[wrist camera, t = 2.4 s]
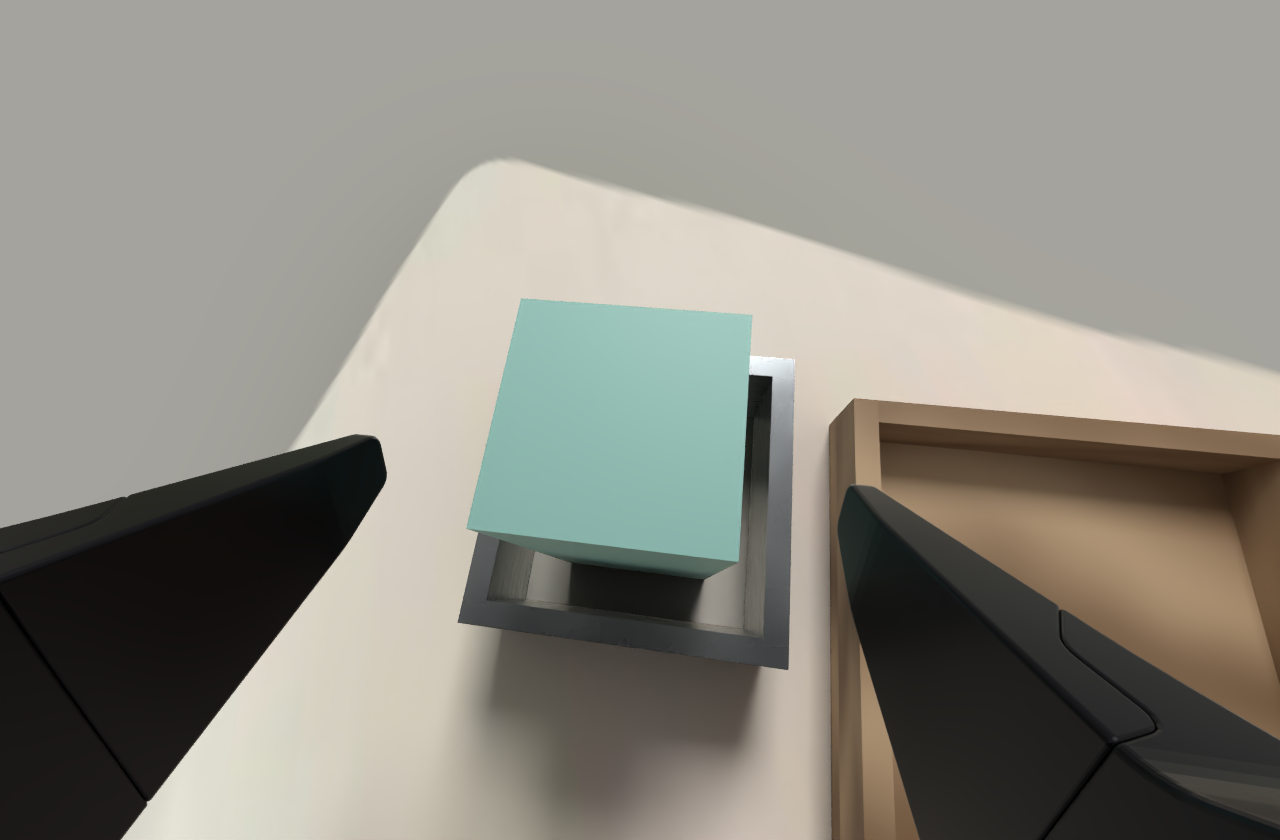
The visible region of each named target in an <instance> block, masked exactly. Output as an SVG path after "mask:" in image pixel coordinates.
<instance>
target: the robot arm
mask: <svg viewBox="0 0 1280 840" xmlns="http://www.w3.org/2000/svg"><path fill="white" fill-rule="evenodd" d="M386 478H387V471H386V466H385V462H384V457H383V453H382V448H381V444H380V441H379V440H378V439H377V438H376V437H374V436H369V435H359V434H355V435H350V436H347V437H343V438H339V439H335V440H332V441H328V442H324V443H321V444H317V445H313V446H309V447H306V448H302V449H298V450H295V451H291V452H287V453H283V454H280V455H276V456H272V457H269V458H265V459H261V460H258V461H254V462H250V463H246V464H243V465H239V466H236V467H232V468H228V469H224V470H221V471H217V472H213V473H209V474H206V475H202V476H198V477H194V478H191V479H187V480H183V481H180V482H176V483H172V484H168V485H165V486H161V487H158V488H154V489H150V490H147V491H143V492H139V493H135V494H132V495H130V496H128V497H127V498H126V497H120V498H116V499H112V500H109V501H105V502H101V503H98V504H94V505H90V506H86V507H82V508H79V509H75V510H71V511H67V512H64V513H59V514H56V515H52V516H48V517H44V518H40V519H36V520H32V521H28V522H24V523H20V524H16V525H12V526H8V527H4V528H0V840H121V839H122V838H123V836H124V835H125V834H126V832H127V831H128V830H129V828H130V827H131V826H132V825H133V823H134V822H135V821H136V819H137V818H138V817H139V815H140V814H141V813H142V812H143V810H144V809H145V808H146V806H147V802H148V801H150V800H151V799H152V798H153V796H154V795H155V794H156V793H157V791H158V790H159V789H160V787H161V786H162V785H163V783H164V782H165V781H166V780H167V778H168V777H169V776H170V774H171V773H172V772H173V771H174V769H175V768H176V767H177V765H178V764H179V763H180V761H181V760H182V759H183V758H184V756H185V755H186V754H187V752H188V751H189V750H190V748H191V747H192V746H193V745H194V743H195V742H196V741H197V739H198V738H199V737H200V735H201V734H202V733H203V732H204V730H205V729H206V728H207V726H208V725H209V724H210V722H211V721H212V720H213V719H214V717H215V716H216V715H217V713H218V712H219V711H220V709H221V708H222V707H223V706H224V704H225V703H226V702H227V700H228V699H229V698H230V696H231V695H232V694H233V693H234V691H235V690H236V689H237V687H238V686H239V685H240V683H241V682H242V681H243V680H244V678H245V677H246V676H247V674H248V673H249V672H250V670H251V669H252V668H253V667H254V665H255V664H256V663H257V661H258V660H259V659H260V657H261V656H262V655H263V654H264V652H265V651H266V650H267V648H268V647H269V646H270V645H271V643H272V642H273V641H274V639H275V638H276V637H277V635H278V634H279V633H280V632H281V630H282V629H283V628H284V626H285V625H286V624H287V622H288V621H289V620H290V619H291V617H292V616H293V615H294V613H295V612H296V611H297V609H298V608H299V607H300V606H301V604H302V603H303V602H304V600H305V599H306V598H307V596H308V595H309V594H310V593H311V591H312V590H313V589H314V587H315V586H316V585H317V583H318V582H319V581H320V580H321V578H322V577H323V576H324V574H325V573H326V572H327V570H328V569H329V568H330V567H331V565H332V564H333V563H334V561H335V560H336V559H337V557H338V556H339V555H340V553H341V552H342V551H343V549H344V548H345V547H346V545H347V544H348V542H349V541H350V539H351V538H352V536H353V534H354V533H355V531H356V530H357V528H358V526H359V525H360V523H361V522H362V520H363V518H364V517H365V515H366V513H367V512H368V510H369V509H370V507H371V505H372V504H373V502H374V501H375V499H376V497H377V496H378V494H379V493H380V491H381V489H382V488H383V486H384V484H385V482H386ZM837 535H838V541H839V547H840V553H841V559H842V565H843V570H844V576H845V582H846V588H847V594H848V599H849V604H850V609H851V613H852V616H853V620H854V624H855V627H856V630H857V634H858V637H859V640H860V644H861V647H862V650H863V654H864V657H865V660H866V664H867V667H868V670H869V674H870V677H871V680H872V683H873V687H874V690H875V693H876V697H877V700H878V703H879V707H880V710H881V713H882V717H883V720H884V723H885V727H886V730H887V733H888V737H889V740H890V743H891V747H892V750H893V753H894V757H895V760H896V763H897V767H898V770H899V773H900V777H901V780H902V783H903V786H904V790H905V793H906V796H907V800H908V803H909V806H910V810H911V813H912V816H913V820H914V823H915V826H916V830H917V833H918V836H919V840H1280V739H1278V738H1277V737H1275V736H1273V735H1272V734H1270V733H1268V732H1266V731H1265V730H1263V729H1261V728H1260V727H1258V726H1256V725H1254V724H1253V723H1251V722H1249V721H1248V720H1246V719H1244V718H1242V717H1241V716H1239V715H1237V714H1236V713H1234V712H1232V711H1230V710H1229V709H1227V708H1225V707H1224V706H1222V705H1220V704H1218V703H1217V702H1215V701H1213V700H1212V699H1210V698H1208V697H1206V696H1205V695H1203V694H1201V693H1200V692H1198V691H1196V690H1194V689H1193V688H1191V687H1189V686H1188V685H1186V684H1184V683H1183V682H1181V681H1179V680H1178V679H1176V678H1174V677H1173V676H1171V675H1169V674H1168V673H1166V672H1164V671H1162V670H1161V669H1159V668H1157V667H1156V666H1154V665H1152V664H1151V663H1149V662H1147V661H1146V660H1144V659H1142V658H1141V657H1139V656H1137V655H1136V654H1134V653H1132V652H1131V651H1129V650H1128V649H1126V648H1124V647H1123V646H1121V645H1120V644H1118V643H1116V642H1115V641H1113V640H1112V639H1110V638H1109V637H1107V636H1105V635H1104V634H1102V633H1101V632H1099V631H1097V630H1096V629H1094V628H1093V627H1091V626H1089V625H1088V624H1086V623H1085V622H1083V621H1082V620H1080V619H1079V618H1077V617H1076V616H1074V615H1073V614H1071V613H1069V612H1068V611H1066V610H1064V609H1061V610H1060V608H1059V606H1058V605H1057V604H1055V603H1054V602H1052V601H1051V600H1049V599H1048V598H1046V597H1044V596H1043V595H1041V594H1040V593H1038V592H1037V591H1035V590H1034V589H1032V588H1031V587H1029V586H1027V585H1026V584H1024V583H1023V582H1021V581H1020V580H1018V579H1017V578H1015V577H1013V576H1012V575H1010V574H1009V573H1007V572H1006V571H1004V570H1003V569H1001V568H1000V567H998V566H996V565H995V564H993V563H992V562H990V561H989V560H987V559H986V558H984V557H982V556H981V555H979V554H978V553H976V552H975V551H973V550H972V549H970V548H969V547H967V546H965V545H964V544H962V543H961V542H959V541H958V540H956V539H955V538H953V537H951V536H950V535H948V534H947V533H945V532H944V531H942V530H941V529H939V528H938V527H936V526H934V525H933V524H931V523H930V522H928V521H927V520H925V519H924V518H922V517H921V516H919V515H917V514H916V513H914V512H913V511H911V510H910V509H908V508H907V507H905V506H903V505H902V504H900V503H899V502H897V501H896V500H894V499H893V498H891V497H890V496H888V495H886V494H885V493H883V492H882V491H880V490H879V489H877V488H876V487H873V486H867V485H857V484H852V485H850V486H849V487H848V488H847V490H846V493H845V496H844V500H843V504H842V508H841V511H840V515H839V519H838V524H837Z"/></svg>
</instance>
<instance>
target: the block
mask: <svg viewBox="0 0 1280 840" xmlns="http://www.w3.org/2000/svg"><path fill="white" fill-rule="evenodd" d="M751 328H752V315H745V314H731V313H717V312H703V311H689V310H675V309H661V308H647V307H633V306H619V305H605V304H591V303H577V302H563V301H549V300H536V299H522V298H521V301H520V306H519V310H518V314H517V318H516V322H515V327H514V331H513V335H512V339H511V343H510V348H509V352H508V356H507V360H506V364H505V369H504V373H503V377H502V381H501V385H500V390H499V394H498V398H497V402H496V406H495V411H494V415H493V419H492V423H491V427H490V432H489V436H488V440H487V444H486V448H485V453H484V457H483V461H482V465H481V469H480V474H479V478H478V482H477V486H476V490H475V495H474V499H473V503H472V507H471V511H470V516H469V520H468V524H467V528H466V529H469V530H472V531H476V532H479V533H482V534H485V535H488V536H491V537H494V538H497V539H500V540H503V541H506V542H510V543H513V544H516V545H519V546H522V547H525V548H528V549H531V550H534V551H537V552H541V553H544V554H547V555H550V556H553V557H556V558H559V559H562V560H565V561H568V562H571V563H579V564H587V565H595V566H603V567H610V568H618V569H626V570H634V571H642V572H650V573H658V574H665V575H673V576H681V577H689V578H697V579H706V578H708V577H710V576H712V575H714V574H716V573H718V572H720V571H722V570H724V569H726V568H728V567H730V566H732V565H734V564H736V563H738V562H739V548H740V530H741V512H742V493H743V475H744V456H745V438H746V420H747V401H748V383H749V365H750V346H751Z"/></svg>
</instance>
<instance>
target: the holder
mask: <svg viewBox="0 0 1280 840" xmlns="http://www.w3.org/2000/svg"><path fill="white" fill-rule="evenodd" d="M794 368H795V359H786V358H773V357H761V356H750V365H749V383H748V401H747V417H750V418H754V425H753V446H752V466H751V487H750V507H749V527H748V548H747V568H746V589H745V609H744V629H740V628H732V627H725V626H718V625H710V624H703V623H696V622H688V621H681V620H674V619H666V618H659V617H652V616H644V615H637V614H629V613H622V612H615V611H607V610H600V609H593V608H585V607H578V606H571V605H563V604H556V603H549V602H541V601H534V600H527V599H525V598H526V592H527V587H528V582H529V576H530V571H531V566H532V561H533V555H534V550H531V549H528V548H525V547H522V546H519V545H516V544H513V543H510V542H506V541H503V540H500V539H497V538H494V537H491V536H488V535H485V534H482V533H479V532H478V536H477V540H476V545H475V549H474V554H473V558H472V562H471V567H470V571H469V575H468V580H467V584H466V588H465V593H464V597H463V601H462V606H461V610H460V615H459V619H458V623H464V624H471V625H478V626H485V627H492V628H499V629H506V630H513V631H520V632H527V633H533V634H540V635H547V636H554V637H561V638H568V639H575V640H582V641H589V642H596V643H603V644H610V645H617V646H624V647H631V648H638V649H645V650H652V651H659V652H666V653H673V654H680V655H687V656H694V657H701V658H708V659H715V660H722V661H729V662H736V663H743V664H750V665H757V666H764V667H771V668H778V669H784V670H788V664H789V615H790V566H791V516H792V467H793V418H794Z"/></svg>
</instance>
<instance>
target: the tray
mask: <svg viewBox="0 0 1280 840" xmlns="http://www.w3.org/2000/svg"><path fill="white" fill-rule="evenodd" d="M852 484H857V485H867V486H873V487H876V488H877V489H879V490H880V491H882V492H883V493H885V494H886V495H888V496H890V497H891V498H893V499H894V500H896V501H897V502H899V503H900V504H902V505H903V506H905V507H907V508H908V509H910V510H911V511H913V512H914V513H916V514H917V515H919V516H921V517H922V518H924V519H925V520H927V521H928V522H930V523H931V524H933V525H934V526H936V527H938V528H939V529H941V530H942V531H944V532H945V533H947V534H948V535H950V536H951V537H953V538H955V539H956V540H958V541H959V542H961V543H962V544H964V545H965V546H967V547H969V548H970V549H972V550H973V551H975V552H976V553H978V554H979V555H981V556H982V557H984V558H986V559H987V560H989V561H990V562H992V563H993V564H995V565H996V566H998V567H1000V568H1001V569H1003V570H1004V571H1006V572H1007V573H1009V574H1010V575H1012V576H1013V577H1015V578H1017V579H1018V580H1020V581H1021V582H1023V583H1024V584H1026V585H1027V586H1029V587H1031V588H1032V589H1034V590H1035V591H1037V592H1038V593H1040V594H1041V595H1043V596H1044V597H1046V598H1048V599H1049V600H1051V601H1052V602H1054V603H1055V604H1057V605H1058V606H1059V608H1060V610H1061V609H1064V610H1066V611H1068V612H1069V613H1071V614H1073V615H1074V616H1076V617H1077V618H1079V619H1080V620H1082V621H1083V622H1085V623H1086V624H1088V625H1089V626H1091V627H1093V628H1094V629H1096V630H1097V631H1099V632H1101V633H1102V634H1104V635H1105V636H1107V637H1109V638H1110V639H1112V640H1113V641H1115V642H1116V643H1118V644H1120V645H1121V646H1123V647H1124V648H1126V649H1128V650H1129V651H1131V652H1132V653H1134V654H1136V655H1137V656H1139V657H1141V658H1142V659H1144V660H1146V661H1147V662H1149V663H1151V664H1152V665H1154V666H1156V667H1157V668H1159V669H1161V670H1162V671H1164V672H1166V673H1168V674H1169V675H1171V676H1173V677H1174V678H1176V679H1178V680H1179V681H1181V682H1183V683H1184V684H1186V685H1188V686H1189V687H1191V688H1193V689H1194V690H1196V691H1198V692H1200V693H1201V694H1203V695H1205V696H1206V697H1208V698H1210V699H1212V700H1213V701H1215V702H1217V703H1218V704H1220V705H1222V706H1224V707H1225V708H1227V709H1229V710H1230V711H1232V712H1234V713H1236V714H1237V715H1239V716H1241V717H1242V718H1244V719H1246V720H1248V721H1249V722H1251V723H1253V724H1254V725H1256V726H1258V727H1260V728H1261V729H1263V730H1265V731H1266V732H1268V733H1270V734H1272V735H1273V736H1275V737H1277V738H1278V739H1280V435H1271V434H1260V433H1248V432H1237V431H1225V430H1214V429H1202V428H1191V427H1179V426H1167V425H1156V424H1144V423H1133V422H1121V421H1110V420H1098V419H1087V418H1075V417H1064V416H1052V415H1041V414H1029V413H1017V412H1006V411H994V410H983V409H971V408H960V407H948V406H937V405H925V404H914V403H902V402H891V401H879V400H867V399H856V398H854V399H853V400H852V401H851V402H850V403H849V404H848V405H847V406H846V407H845V409H844V410H843V411H842V412H841V413H840V414H839V415H838V416H837V417H836V418H835V419H834V421H833V422H832V423H831V424H830V586H831V757H832V840H919V836H918V833H917V830H916V826H915V823H914V820H913V816H912V813H911V810H910V806H909V803H908V800H907V796H906V793H905V790H904V786H903V783H902V780H901V777H900V773H899V770H898V767H897V763H896V760H895V757H894V753H893V750H892V747H891V743H890V740H889V737H888V733H887V730H886V727H885V723H884V720H883V717H882V713H881V710H880V707H879V703H878V700H877V697H876V693H875V690H874V687H873V683H872V680H871V677H870V674H869V670H868V667H867V664H866V660H865V657H864V654H863V650H862V647H861V644H860V640H859V637H858V634H857V630H856V627H855V624H854V620H853V616H852V613H851V609H850V604H849V599H848V594H847V588H846V582H845V576H844V570H843V565H842V559H841V553H840V547H839V541H838V535H837V524H838V519H839V515H840V511H841V508H842V504H843V500H844V496H845V493H846V490H847V488H848V487H849V486H850V485H852Z"/></svg>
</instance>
